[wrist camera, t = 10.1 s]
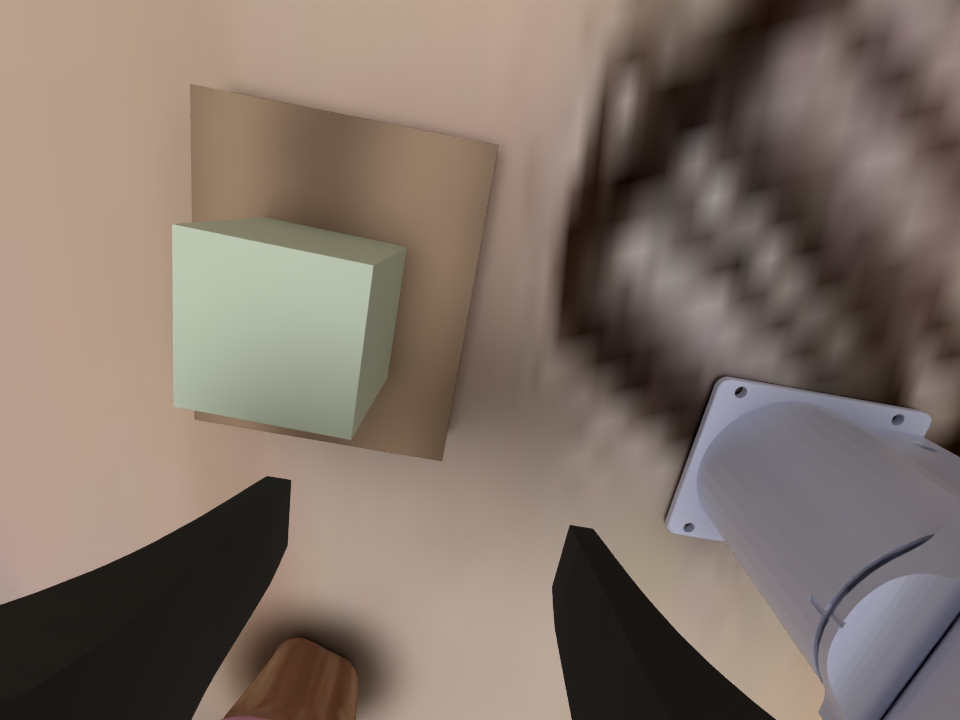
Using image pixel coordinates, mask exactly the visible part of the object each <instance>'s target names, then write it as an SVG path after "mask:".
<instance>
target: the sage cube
mask: <svg viewBox="0 0 960 720" xmlns="http://www.w3.org/2000/svg"><path fill="white" fill-rule="evenodd" d="M406 250H407V247H406V246H401V245H396V244H391V243H386V242H381V241H377V240H372V239H367V238H362V237H357V236H353V235H348V234H343V233H338V232H333V231H329V230H324V229H319V228H314V227H309V226H305V225H300V224H295V223H290V222H285V221H280V220H276V219H271V218H266V217H259V218H246V219H233V220H220V221H207V222H194V223H181V224H172V256H173V390H174V407H179V408H185V409H190V410H195V411H200V412H206V413H211V414H216V415H222V416H227V417H232V418H237V419H243V420H248V421H253V422H259V423H264V424H269V425H274V426H280V427H285V428H290V429H296V430H301V431H306V432H311V433H317V434H322V435H327V436H333V437H338V438H343V439H348V440H351V439H352V438H353V436H354V434H355V433H356V431H357V429H358V427H359V426H360V424H361V422H362V420H363V419H364V417H365V415H366V414H367V412H368V410H369V408H370V407H371V405H372V403H373V402H374V400H375V398H376V396H377V395H378V393H379V391H380V390H381V388H382V386H383V384H384V383H385V381H386V379H387V378H388V371H389V364H390V357H391V351H392V344H393V337H394V331H395V324H396V317H397V310H398V304H399V297H400V290H401V284H402V277H403V270H404V263H405V257H406Z"/></svg>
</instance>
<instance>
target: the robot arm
mask: <svg viewBox="0 0 960 720" xmlns="http://www.w3.org/2000/svg"><path fill="white" fill-rule="evenodd" d="M739 387H743V388H742V391H741V393H739V394H735V390H736V389H737V388H739ZM896 415H897V417H896V418H895V419H894V420H892V418H893V417H894V416H896ZM930 424H931V417H930V416H929V414H927V413H925V412H923V411H920V410H916V409H910V408H905V407H899V406H893V405H888V404H882V403H876V402H871V401H865V400H859V399H854V398H848V397H842V396H837V395H831V394H825V393H819V392H814V391H808V390H802V389H797V388H791V387H785V386H780V385H774V384H768V383H763V382H757V381H751V380H746V379H740V378H734V377H723V378H720V379H719V380H718V381H717V382H716V384H715V385H714V388H713V391H712V394H711V396H710V399H709V402H708V405H707V407H706V410H705V413H704V416H703V418H702V421H701V424H700V427H699V429H698V432H697V435H696V438H695V440H694V443H693V446H692V449H691V451H690V454H689V457H688V460H687V462H686V465H685V468H684V471H683V473H682V476H681V479H680V482H679V485H678V487H677V490H676V493H675V496H674V498H673V501H672V504H671V507H670V509H669V512H668V515H667V518H666V522H665V523H666V526H667V528H668V530H669V531H670V532H671V533H674V534H678V535H684V536H690V537H696V538H703V539H709V540H715V541H721V542H726V544H727V545H728V547H729V548H730V550H731V551H732V553H733V554H734V556H735V557H736V558H737V560H738V561H739V563H740V564H741V566H742V567H743V569H744V570H745V572H746V573H747V574H748V576H749V577H750V579H751V580H752V582H753V583H754V585H755V586H756V588H757V589H758V590H759V592H760V593H761V595H762V596H763V598H764V599H765V601H766V602H767V604H768V605H769V606H770V608H771V609H772V611H773V612H774V614H775V615H776V617H777V618H778V620H779V621H780V622H781V624H782V625H783V627H784V628H785V630H786V631H787V633H788V634H789V636H790V637H791V638H792V640H793V641H794V643H795V644H796V646H797V647H798V649H799V650H800V652H801V653H802V654H803V656H804V657H805V659H806V660H807V662H808V663H809V665H810V666H811V668H812V669H813V670H814V672H815V673H816V675H817V676H818V678H819V679H820V681H821V682H822V683H823V684H824V688H825V698H824V702H823V704H822V706H821V707H820V709H819V714H820V716H821V717H822V719H823V720H960V457H958V456H957V455H955V454H953V453H951V452H949V451H947V450H946V449H944V448H942V447H940V446H938V445H937V444H935V443H933V442H931V441H929V440H927V439H926V438H924V436H925V434H926V432H927V430H928V429H929V427H930ZM290 492H291V480H288V479H281V478H275V477H269V476H267V477H265V478H263V479H261V480H260V481H258V482H256V483H255V484H253V485H252V486H250V487H248V488H247V489H245V490H244V491H242V492H240V493H239V494H237V495H235V496H234V497H232V498H231V499H229V500H227V501H226V502H224V503H222V504H221V505H219V506H217V507H216V508H214V509H212V510H211V511H209V512H207V513H206V514H204V515H202V516H201V517H199V518H197V519H196V520H194V521H192V522H190V523H188V524H187V525H185V526H183V527H181V528H179V529H177V530H175V531H174V532H172V533H170V534H168V535H166V536H164V537H163V538H161V539H159V540H157V541H155V542H153V543H151V544H149V545H147V546H145V547H143V548H141V549H139V550H137V551H135V552H133V553H131V554H129V555H127V556H124V557H122V558H120V559H118V560H116V561H113V562H111V563H109V564H107V565H105V566H102V567H100V568H98V569H95V570H93V571H90V572H88V573H85V574H83V575H80V576H78V577H75V578H73V579H70V580H67V581H65V582H62V583H60V584H57V585H55V586H52V587H50V588H47V589H44V590H42V591H39V592H36V593H34V594H31V595H28V596H25V597H22V598H19V599H16V600H13V601H10V602H8V603H5V604H2V605H0V720H191V719H192V717H193V715H194V713H195V711H196V709H197V707H198V705H199V703H200V701H201V699H202V697H203V695H204V693H205V691H206V690H207V688H208V686H209V684H210V683H211V681H212V679H213V677H214V675H215V674H216V672H217V670H218V669H219V667H220V665H221V664H222V662H223V660H224V659H225V657H226V656H227V654H228V652H229V651H230V649H231V647H232V646H233V644H234V643H235V641H236V639H237V638H238V636H239V634H240V633H241V631H242V629H243V628H244V626H245V625H246V623H247V621H248V620H249V618H250V616H251V615H252V613H253V612H254V610H255V608H256V607H257V605H258V603H259V602H260V600H261V598H262V597H263V595H264V593H265V592H266V590H267V588H268V587H269V585H270V583H271V581H272V579H273V577H274V575H275V572H276V570H277V568H278V566H279V564H280V562H281V559H282V557H283V555H284V553H285V550H286V548H287V546H288V528H289V510H290ZM687 523H691V524H690V525H689V526H687V527H684V525H685V524H687ZM552 594H553V611H554V624H555V632H556V637H557V643H558V648H559V654H560V659H561V665H562V670H563V675H564V680H565V686H566V691H567V696H568V702H569V707H570V712H571V718H572V720H776V719H774V718H773V717H772V716H771V715H769V714H768V713H767V712H766V711H764V710H763V709H762V708H761V707H759V706H758V705H757V704H756V703H754V702H753V701H752V700H751V699H750V698H748V697H747V696H746V695H745V694H744V693H743V692H742V691H740V690H739V689H738V688H737V687H736V686H735V685H733V684H732V683H731V682H730V681H729V680H728V679H726V678H725V677H724V676H723V675H722V674H721V673H720V672H719V671H717V670H716V669H715V668H714V667H713V666H712V665H711V664H710V663H709V662H708V661H707V660H706V659H705V658H704V657H703V656H701V655H700V654H699V653H698V652H697V651H696V650H695V649H694V648H693V647H692V646H691V645H690V644H689V643H688V642H687V641H686V640H685V639H684V638H683V637H682V636H681V635H680V634H679V633H678V632H677V631H676V630H675V628H674V627H673V626H672V625H671V624H670V623H669V622H668V621H667V620H666V619H665V617H664V616H663V615H662V614H661V613H660V612H659V611H658V610H657V609H656V607H655V606H654V605H653V604H652V603H651V602H650V600H649V599H648V598H647V597H646V596H645V595H644V593H643V592H642V591H641V590H640V589H639V587H638V586H637V585H636V584H635V582H634V581H633V580H632V579H631V577H630V576H629V575H628V574H627V572H626V571H625V570H624V568H623V567H622V566H621V565H620V563H619V562H618V561H617V559H616V558H615V557H614V555H613V554H612V553H611V552H610V550H609V549H608V548H607V546H606V545H605V544H604V542H603V541H602V540H601V538H600V537H599V536H598V534H597V533H596V532H595V531H594V529H591V528H585V527H579V526H573V525H570V526H569V530H568V533H567V537H566V540H565V544H564V547H563V551H562V554H561V558H560V561H559V565H558V568H557V572H556V575H555V579H554V582H553V586H552Z"/></svg>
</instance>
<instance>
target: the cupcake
mask: <svg viewBox="0 0 960 720" xmlns="http://www.w3.org/2000/svg"><path fill="white" fill-rule="evenodd" d="M357 696H358V675H357V673H356V671H355V669H354V667H353V666H352V664H351V663H350V662H349V661H348V660H347V659H345V658H343V657H341V656H339V655H337V654H335V653H333V652H331V651H329V650H327V649H325V648H323V647H322V646H320V645H318V644H316V643H314V642H312V641H309V640H307V639H305V638H301V637H297V638H293V639H289V640H287V641H285V642H284V643H282V644H281V645H280V646H279V647H278V649H277V650H276V652H275V653H274V655H273V656H272V658H271V659H270V660H269V661H268V663H267V664H266V665H265V666H264V667H263V669H262V670H261V671H260V673H259V674H258V676H257V677H256V679H255V680H254V682H253V683H252V684H251V685H250V686H249V687H248V689H247V690H246V691H245V693H244V694H243V695H242V696H241V697H240V698H239V700H238V701H237V702H236V703H235V704H234V706H233V707H232V708H231V709H230V710H229V712H228V713H227V714H226V715H225V717H224V718H223V719H221V720H356V712H357Z"/></svg>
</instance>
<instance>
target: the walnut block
mask: <svg viewBox="0 0 960 720" xmlns="http://www.w3.org/2000/svg"><path fill="white" fill-rule="evenodd" d="M190 96H191V174H192V223H194V222H207V221H220V220H233V219H246V218H259V217H266V218H271V219H276V220H280V221H285V222H290V223H295V224H300V225H305V226H309V227H314V228H319V229H324V230H329V231H333V232H338V233H343V234H348V235H353V236H357V237H362V238H367V239H372V240H377V241H381V242H386V243H391V244H396V245H401V246H406V247H407V250H406V257H405V263H404V270H403V277H402V284H401V290H400V297H399V304H398V310H397V317H396V324H395V331H394V337H393V344H392V351H391V357H390V364H389V371H388V378H387V379H386V381H385V383H384V384H383V386H382V388H381V390H380V391H379V393H378V395H377V396H376V398H375V400H374V402H373V403H372V405H371V407H370V408H369V410H368V412H367V414H366V415H365V417H364V419H363V420H362V422H361V424H360V426H359V427H358V429H357V431H356V433H355V434H354V436H353V438H352V439H351V440H348V439H343V438H338V437H333V436H327V435H322V434H317V433H311V432H306V431H301V430H296V429H290V428H285V427H280V426H274V425H269V424H264V423H259V422H253V421H248V420H243V419H237V418H232V417H227V416H222V415H216V414H211V413H206V412H200V411H195V420H200V421H206V422H212V423H218V424H224V425H230V426H236V427H242V428H248V429H254V430H259V431H265V432H271V433H277V434H283V435H289V436H295V437H301V438H307V439H313V440H319V441H325V442H331V443H337V444H343V445H349V446H355V447H360V448H366V449H372V450H378V451H384V452H390V453H396V454H402V455H408V456H414V457H420V458H426V459H432V460H438V461H442V458H443V453H444V447H445V441H446V436H447V430H448V425H449V419H450V414H451V408H452V402H453V397H454V391H455V386H456V380H457V374H458V369H459V363H460V358H461V352H462V347H463V341H464V335H465V330H466V324H467V319H468V313H469V308H470V302H471V296H472V291H473V285H474V280H475V274H476V268H477V263H478V257H479V252H480V246H481V241H482V235H483V229H484V224H485V218H486V213H487V207H488V202H489V196H490V190H491V185H492V179H493V174H494V168H495V162H496V157H497V151H498V146H499V145H494V144H489V143H484V142H479V141H474V140H469V139H464V138H459V137H454V136H449V135H444V134H439V133H434V132H429V131H424V130H419V129H414V128H409V127H404V126H399V125H394V124H389V123H384V122H379V121H374V120H369V119H364V118H359V117H354V116H349V115H344V114H338V113H333V112H328V111H323V110H318V109H313V108H308V107H303V106H298V105H293V104H288V103H283V102H278V101H273V100H268V99H263V98H258V97H253V96H248V95H243V94H238V93H233V92H228V91H223V90H218V89H213V88H208V87H203V86H198V85H193V84H190Z"/></svg>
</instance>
